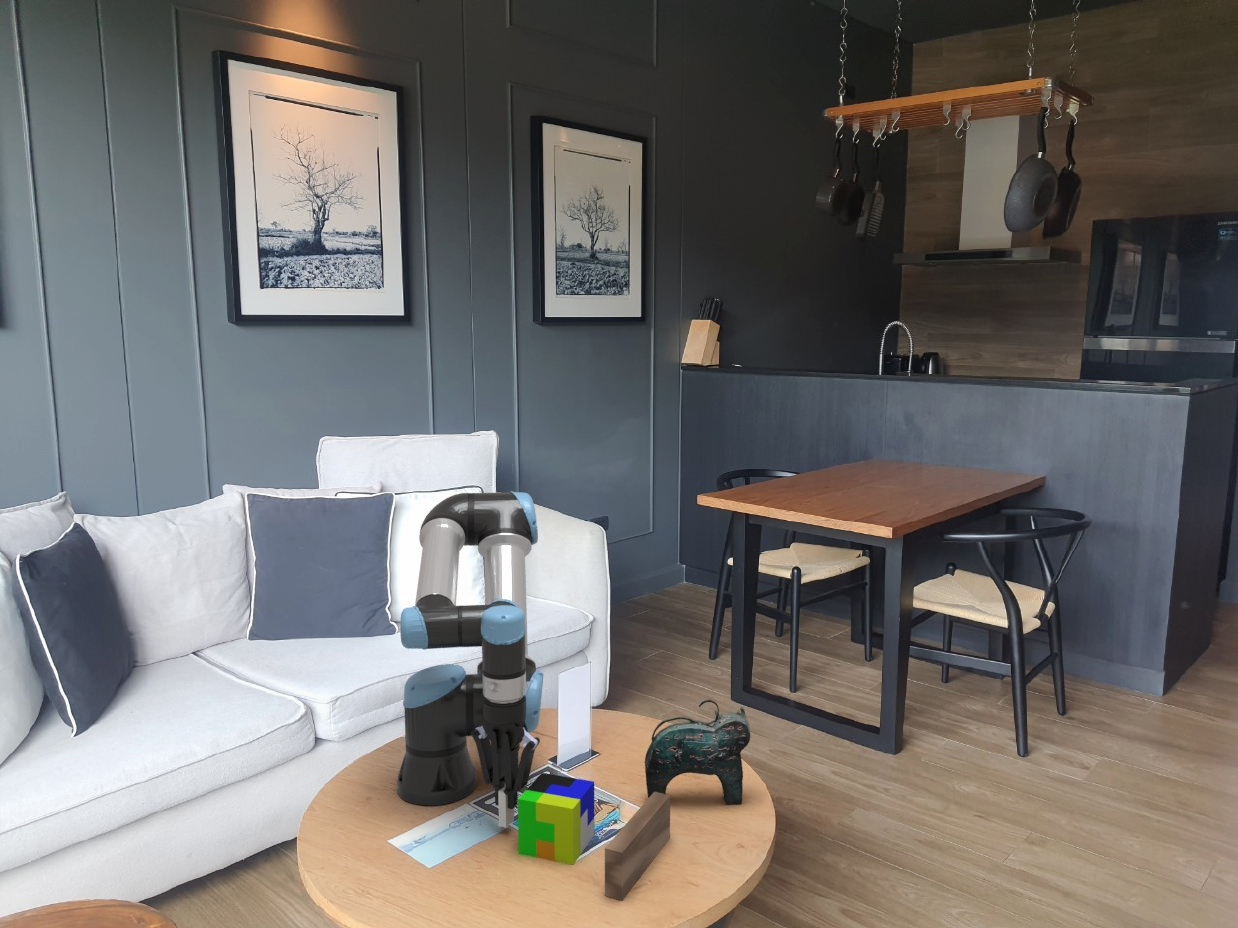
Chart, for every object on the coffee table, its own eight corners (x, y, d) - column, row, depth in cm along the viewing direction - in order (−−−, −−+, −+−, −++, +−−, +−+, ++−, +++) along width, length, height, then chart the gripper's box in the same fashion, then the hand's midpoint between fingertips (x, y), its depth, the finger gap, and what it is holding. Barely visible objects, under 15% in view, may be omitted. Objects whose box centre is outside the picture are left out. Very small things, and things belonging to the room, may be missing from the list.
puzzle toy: (594, 834, 162) (594, 781, 161) (573, 865, 153) (572, 808, 152) (542, 824, 166) (541, 772, 164) (518, 854, 156) (517, 798, 155)
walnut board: (604, 895, 145) (604, 848, 143) (654, 834, 163) (654, 791, 161) (622, 900, 143) (622, 852, 142) (669, 837, 161) (670, 794, 160)
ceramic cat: (746, 792, 177) (748, 693, 175) (752, 810, 171) (755, 707, 168) (643, 794, 177) (644, 694, 174) (646, 811, 170) (646, 708, 168)
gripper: (460, 697, 160) (463, 824, 163) (525, 709, 154) (527, 841, 157) (484, 682, 166) (487, 805, 169) (547, 694, 161) (549, 821, 164)
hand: (506, 823), depth 163 cm, fingers closed
